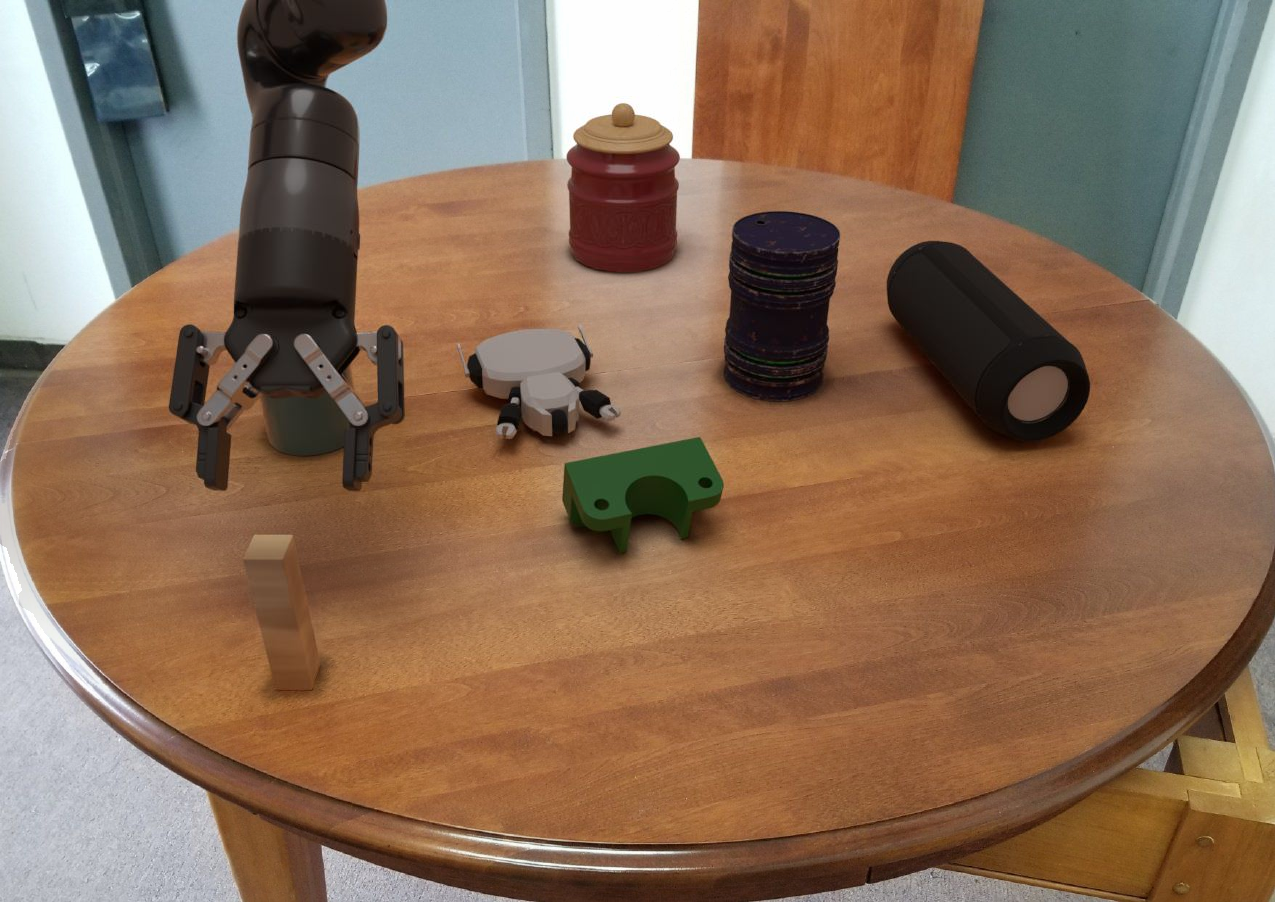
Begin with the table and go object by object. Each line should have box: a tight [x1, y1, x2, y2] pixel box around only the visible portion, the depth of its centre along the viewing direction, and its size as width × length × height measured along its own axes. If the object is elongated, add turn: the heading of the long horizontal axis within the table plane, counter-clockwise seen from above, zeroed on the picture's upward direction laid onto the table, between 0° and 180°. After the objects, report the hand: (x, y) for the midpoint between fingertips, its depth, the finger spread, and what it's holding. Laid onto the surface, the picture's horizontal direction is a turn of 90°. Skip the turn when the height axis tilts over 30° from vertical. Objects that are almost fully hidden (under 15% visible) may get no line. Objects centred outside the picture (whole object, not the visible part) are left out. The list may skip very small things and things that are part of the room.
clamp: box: [561, 436, 725, 554], centre depth 83 cm, size 12×6×9 cm, turn 104°
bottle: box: [258, 363, 356, 457], centre depth 91 cm, size 8×8×16 cm
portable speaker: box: [886, 240, 1091, 442], centre depth 101 cm, size 26×10×10 cm, turn 11°
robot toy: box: [456, 324, 622, 440], centre depth 98 cm, size 12×4×15 cm
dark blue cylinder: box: [723, 210, 841, 402], centre depth 100 cm, size 10×10×15 cm
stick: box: [242, 534, 321, 691], centre depth 68 cm, size 2×2×11 cm
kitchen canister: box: [565, 102, 681, 273], centre depth 124 cm, size 13×13×18 cm
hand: (284, 489), depth 67 cm, fingers open, 8 cm apart
